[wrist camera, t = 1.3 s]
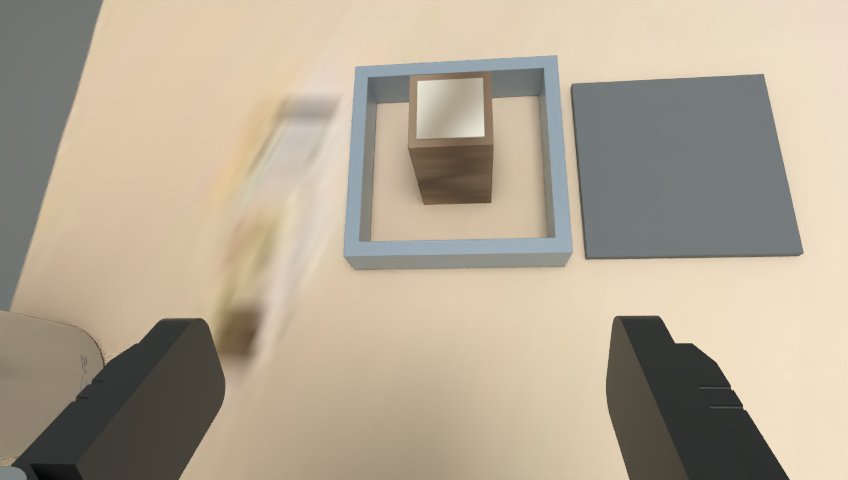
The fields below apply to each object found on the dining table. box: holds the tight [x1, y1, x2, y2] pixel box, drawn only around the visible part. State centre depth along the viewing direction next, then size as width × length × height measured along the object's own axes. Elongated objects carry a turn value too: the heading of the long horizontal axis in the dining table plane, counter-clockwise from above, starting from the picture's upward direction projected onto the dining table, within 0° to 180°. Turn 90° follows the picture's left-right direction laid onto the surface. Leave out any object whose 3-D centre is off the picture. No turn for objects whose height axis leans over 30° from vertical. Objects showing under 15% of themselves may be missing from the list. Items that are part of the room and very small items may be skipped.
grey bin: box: [343, 55, 573, 270], centre depth 38 cm, size 15×15×4 cm
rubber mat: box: [571, 74, 803, 259], centre depth 38 cm, size 14×14×1 cm
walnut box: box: [408, 71, 493, 205], centre depth 35 cm, size 5×5×9 cm
